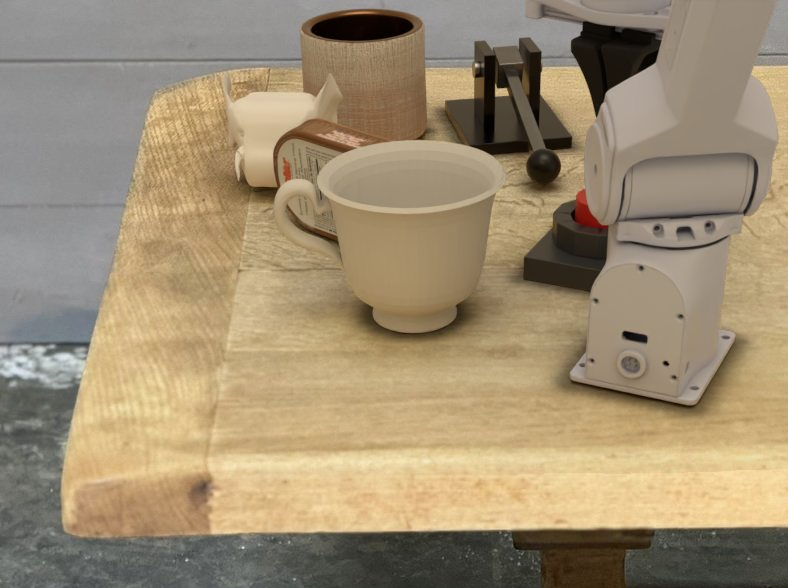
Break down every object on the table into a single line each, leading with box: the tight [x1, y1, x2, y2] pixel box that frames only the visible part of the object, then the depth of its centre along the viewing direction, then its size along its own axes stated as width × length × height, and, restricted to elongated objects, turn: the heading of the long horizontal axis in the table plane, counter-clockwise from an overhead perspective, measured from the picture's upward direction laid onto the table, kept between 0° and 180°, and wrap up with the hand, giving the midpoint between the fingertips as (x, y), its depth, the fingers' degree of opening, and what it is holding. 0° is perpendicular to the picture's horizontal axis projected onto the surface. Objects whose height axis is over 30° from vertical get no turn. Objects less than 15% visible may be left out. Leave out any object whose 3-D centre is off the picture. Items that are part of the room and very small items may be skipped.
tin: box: [273, 118, 393, 242], centre depth 97 cm, size 15×3×8 cm, turn 48°
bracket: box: [444, 36, 573, 155], centre depth 117 cm, size 12×9×7 cm
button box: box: [522, 199, 609, 292], centre depth 95 cm, size 10×8×4 cm
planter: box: [299, 8, 428, 141], centre depth 116 cm, size 11×11×10 cm
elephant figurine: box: [222, 71, 343, 188], centre depth 107 cm, size 10×12×9 cm
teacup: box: [273, 139, 507, 334], centre depth 87 cm, size 12×15×10 cm
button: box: [575, 188, 609, 229], centre depth 93 cm, size 4×4×2 cm
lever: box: [492, 45, 562, 185], centre depth 111 cm, size 17×3×3 cm, turn 8°
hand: (616, 140), depth 91 cm, fingers closed
